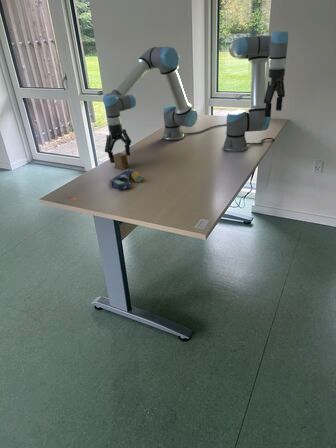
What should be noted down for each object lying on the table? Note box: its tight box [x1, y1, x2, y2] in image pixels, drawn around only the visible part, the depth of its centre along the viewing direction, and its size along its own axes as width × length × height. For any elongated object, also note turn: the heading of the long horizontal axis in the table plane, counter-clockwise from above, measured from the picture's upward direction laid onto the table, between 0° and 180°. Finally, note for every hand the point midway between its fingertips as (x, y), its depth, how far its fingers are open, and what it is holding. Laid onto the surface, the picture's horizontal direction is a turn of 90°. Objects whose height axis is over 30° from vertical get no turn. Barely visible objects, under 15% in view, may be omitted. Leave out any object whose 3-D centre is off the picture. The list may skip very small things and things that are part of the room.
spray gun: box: [108, 168, 143, 191], centre depth 184 cm, size 21×4×15 cm
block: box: [113, 152, 129, 170], centre depth 204 cm, size 5×7×8 cm
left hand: (120, 159), depth 203 cm, fingers open, 13 cm apart
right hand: (273, 113), depth 171 cm, fingers open, 13 cm apart
